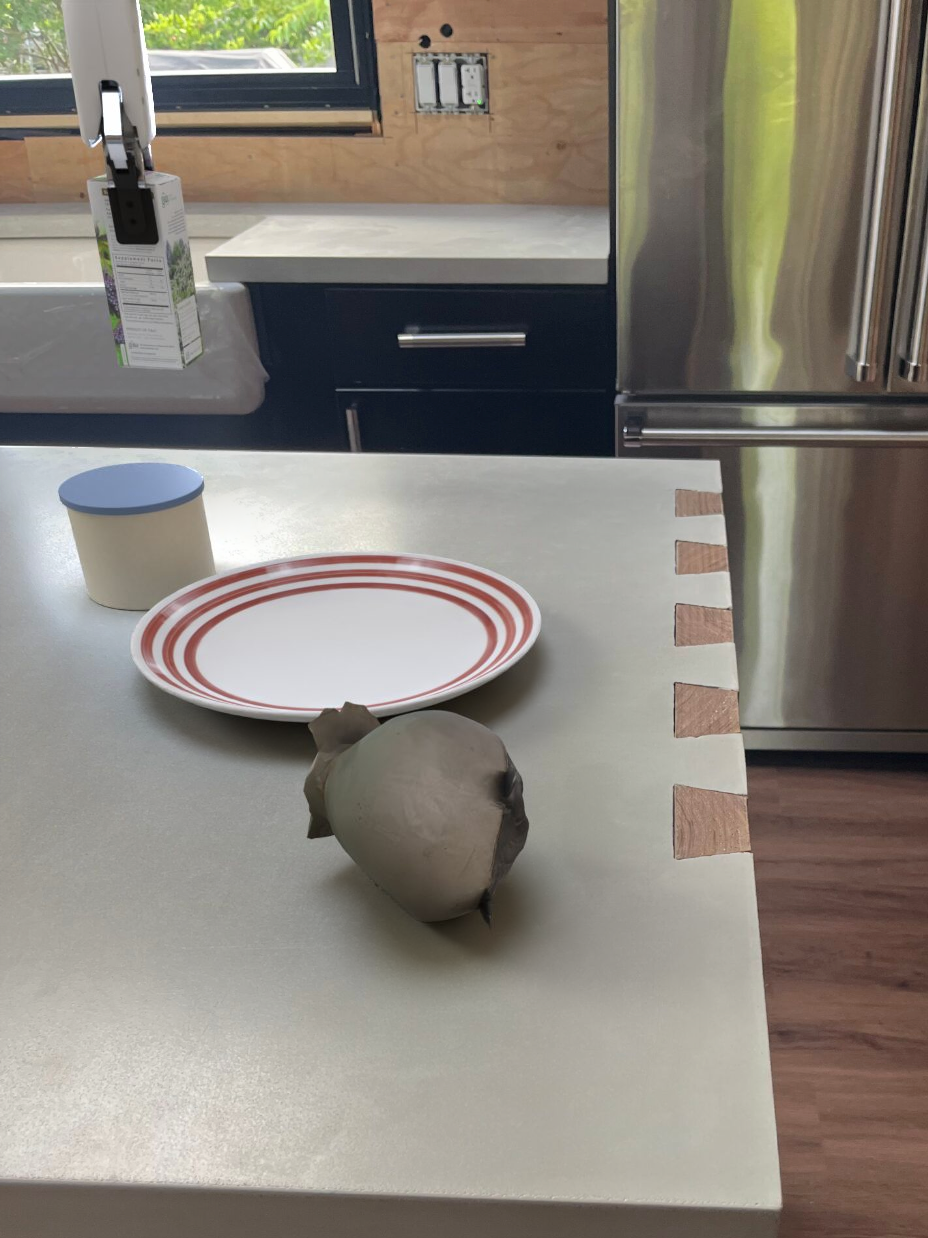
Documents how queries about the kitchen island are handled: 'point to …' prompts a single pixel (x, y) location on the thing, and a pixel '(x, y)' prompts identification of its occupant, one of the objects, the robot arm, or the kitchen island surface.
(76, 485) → the yogurt tub
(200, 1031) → the kitchen island surface
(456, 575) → the dinner plate
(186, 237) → the syrup box
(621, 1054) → the kitchen island surface
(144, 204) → the robot arm
